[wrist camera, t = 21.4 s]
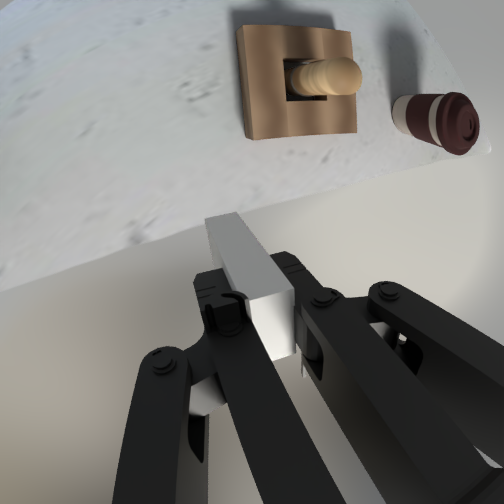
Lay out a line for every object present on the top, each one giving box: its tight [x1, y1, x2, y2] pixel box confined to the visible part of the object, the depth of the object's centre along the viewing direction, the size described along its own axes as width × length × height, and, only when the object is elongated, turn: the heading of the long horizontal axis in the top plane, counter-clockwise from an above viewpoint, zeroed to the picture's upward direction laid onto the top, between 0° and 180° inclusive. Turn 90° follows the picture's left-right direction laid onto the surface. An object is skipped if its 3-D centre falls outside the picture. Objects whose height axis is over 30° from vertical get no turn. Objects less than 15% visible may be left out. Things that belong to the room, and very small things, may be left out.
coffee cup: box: [392, 92, 480, 155], centre depth 40 cm, size 10×10×15 cm
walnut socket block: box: [236, 25, 357, 140], centre depth 38 cm, size 16×16×4 cm
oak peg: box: [284, 57, 362, 96], centre depth 34 cm, size 5×5×14 cm
